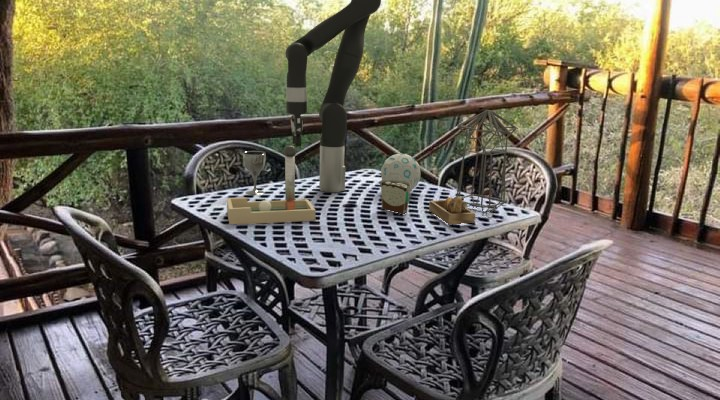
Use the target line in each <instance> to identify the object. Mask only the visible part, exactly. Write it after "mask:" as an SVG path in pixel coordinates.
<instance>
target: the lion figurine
mask: <svg viewBox="0 0 720 400" xmlns="http://www.w3.org/2000/svg"><path fill="white" fill-rule="evenodd" d="M461 197H462V196H460V197H451V196H449V197H447V198H446V199H445V200H446V201H445V205H444V209H445V210H448V212H449V213H451V214H456V213H459V212H461V209H463V210H465V208H467V207H466V206H468V204H466V203H464V202H465V201H464V200H463V198H461Z"/></svg>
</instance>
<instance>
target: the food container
mask: <svg viewBox="0 0 720 400" xmlns="http://www.w3.org/2000/svg"><path fill="white" fill-rule="evenodd" d="M379 187H380V191H381V192H380V195H381V210H382V209H386V210H390V211H394V212H398V213H401V214H405V213H407V212H408V208H409V200H410V194H411V192H412V191H413V189H412V187H411V184H410V183H409V182H406V181H402V180H382V179H381V180H380V183H379ZM386 210H385V211H386ZM405 215H406V214H405Z"/></svg>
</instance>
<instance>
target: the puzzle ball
mask: <svg viewBox="0 0 720 400" xmlns="http://www.w3.org/2000/svg"><path fill="white" fill-rule="evenodd" d="M421 175H422V174H421V168H420V164H419V163H418V162H417V160H416V158H414V157H413V156H411V155H410V154H407V153H396V154H393V155H390V156H389V157H388V158H387V159H386V160H384V161H383V164H382V166H381V169H380V176H381V180H402V181H406V182H409V183H410V184H411V187H412V190H414V189H415V188H416V187H417V186H418V184H419V182H420V179H421Z"/></svg>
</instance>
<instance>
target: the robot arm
mask: <svg viewBox="0 0 720 400" xmlns="http://www.w3.org/2000/svg"><path fill="white" fill-rule="evenodd" d="M381 4H382V0H351V1H350V2H349V3H348V4H347V5H346V6H345V7H343V8H342V9H340V10H339V11H337V12H335V13H334V14H332V15H330V16H329V17H327V18H326V19H324V20H323V21H321V22H319V23H318V24H317V25H316V26H314V27H312V28H311V29H310V30H309V31H308V32H307V33H306V34H304V35H303V36H302V37H299V38H298V39H296V40H295V41H294V42H292V43H290V44H289V45H288V46H287V47H286V49H285V53H284V55H285V58H286V59H287V72H286V91H285V92H286V93H285V103H286V104H285V109H286V111H285V112H286V113H287V114H288V115H291V118H290V127H291V129H290V130H291V133H292V143H293V144H294V145H295V146H294V147H295V148H299V147H301V146H302V136H303V122H304V121H303V118H302V116H301V115H306V114H307V113H308V91H307V66H308V57H309V56H310V55H311V54H313V53H314V52H315V51H317V50H320V49H321V48H323V47H324V46H325V45H327V44H328V43H329V42H331V41H332V40H333V39H335V38H336V37H337V36H338V35H340V34H341V33H343V34H342V36H341V40H340V43H339V45H338V46H339V47H338V49H337V52H336V56H335V60H334V61H333V65H332V67H333V68H332V71H331V74H330V79H329V84H328V88H327V90H326V93H325V95H324V98H323V101H322V103H321V106H320V108H319V111H318V115H319V119H320V122H321V137H320V139H319V191H321V192H324V193H340V192H346V165H345V145H346V144H345V141H346V139H347V129H348V127H347V126H348V123H347V122H348V115H347V110H346V108H345V107H344V106H345V105H344V104H345V102H346V101H345V100H346V96H347V94H348V90H349V88H350V87H351V86H352V83H353V82H354V79H355V78H356V76H357V75H358V74H357V73H358V71H359V69H360V66H361V62H362V59H363V55H364V48H365V33H366V28H367V25H368V21H369V19H370V17H371V15H373V14H375V13H376V12H378V10H379V9H380V7H381Z"/></svg>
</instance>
